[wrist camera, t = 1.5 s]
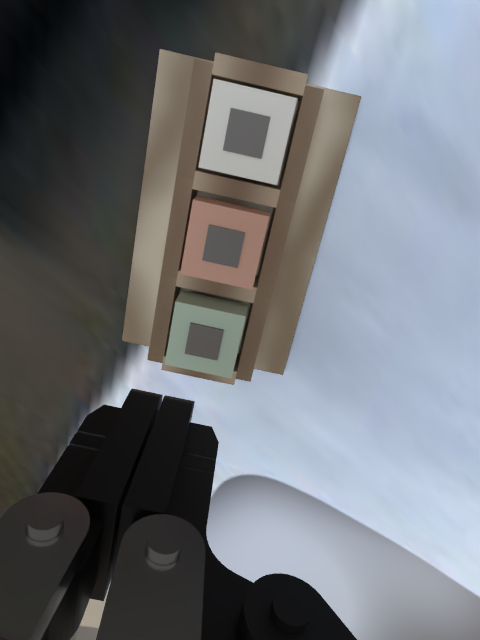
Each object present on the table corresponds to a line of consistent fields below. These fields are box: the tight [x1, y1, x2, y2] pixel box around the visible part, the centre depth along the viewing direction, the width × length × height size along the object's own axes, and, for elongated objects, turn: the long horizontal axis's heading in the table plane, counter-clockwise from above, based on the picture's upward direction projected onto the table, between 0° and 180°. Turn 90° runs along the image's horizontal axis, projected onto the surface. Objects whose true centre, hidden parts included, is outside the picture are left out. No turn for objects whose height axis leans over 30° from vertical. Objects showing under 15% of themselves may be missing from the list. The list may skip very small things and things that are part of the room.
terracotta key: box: [180, 196, 269, 290], centre depth 31 cm, size 5×5×3 cm
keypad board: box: [122, 49, 361, 385], centre depth 34 cm, size 14×22×4 cm, turn 168°
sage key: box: [165, 290, 247, 378], centre depth 34 cm, size 5×5×3 cm
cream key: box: [199, 79, 297, 185], centre depth 29 cm, size 5×5×3 cm
